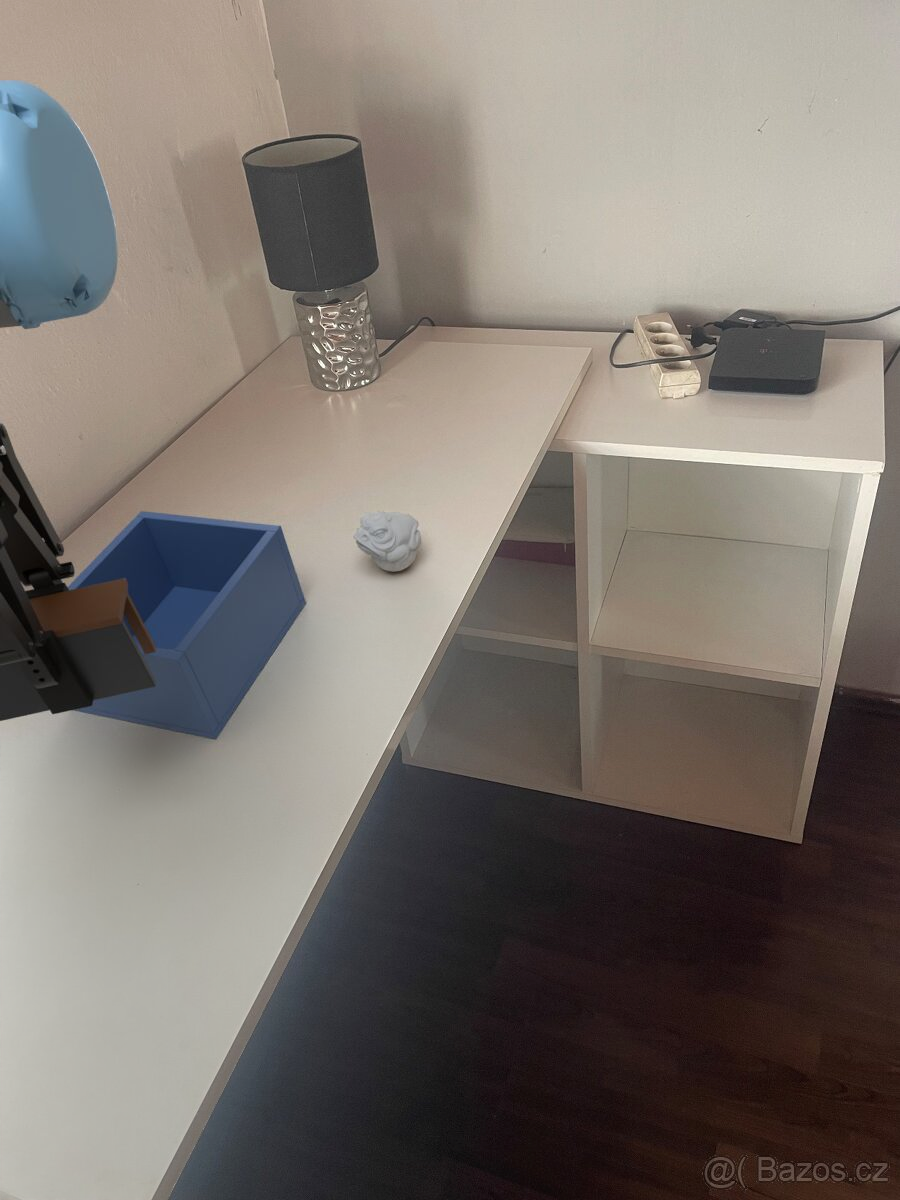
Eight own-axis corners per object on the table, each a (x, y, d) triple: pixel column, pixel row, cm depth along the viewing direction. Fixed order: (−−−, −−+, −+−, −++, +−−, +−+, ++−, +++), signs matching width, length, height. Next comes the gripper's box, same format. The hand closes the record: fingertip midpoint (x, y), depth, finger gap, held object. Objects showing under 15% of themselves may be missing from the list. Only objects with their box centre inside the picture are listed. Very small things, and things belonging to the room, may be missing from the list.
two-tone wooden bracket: (155, 687, 60) (118, 617, 55) (-4, 722, 59) (-54, 654, 55) (160, 646, 63) (125, 577, 58) (9, 680, 62) (-38, 613, 58)
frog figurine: (352, 568, 91) (337, 514, 86) (408, 539, 93) (396, 485, 88) (381, 596, 87) (367, 541, 82) (439, 565, 89) (429, 510, 84)
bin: (215, 739, 75) (177, 660, 69) (69, 709, 80) (21, 633, 74) (306, 603, 87) (281, 525, 81) (174, 584, 93) (141, 510, 86)
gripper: (-84, 445, 39) (116, 764, 54) (0, 302, 52) (143, 592, 67) (-252, 480, 39) (-3, 791, 54) (-125, 326, 52) (47, 613, 67)
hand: (78, 680), depth 61 cm, fingers closed on two-tone wooden bracket, 4 cm apart
